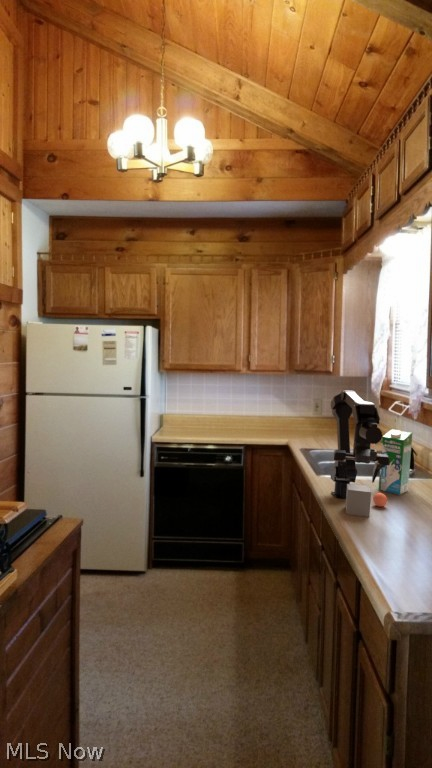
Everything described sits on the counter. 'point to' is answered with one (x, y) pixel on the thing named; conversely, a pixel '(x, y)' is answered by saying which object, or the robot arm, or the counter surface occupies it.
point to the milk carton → (396, 461)
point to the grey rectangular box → (358, 500)
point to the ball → (380, 499)
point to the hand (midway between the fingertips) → (359, 481)
